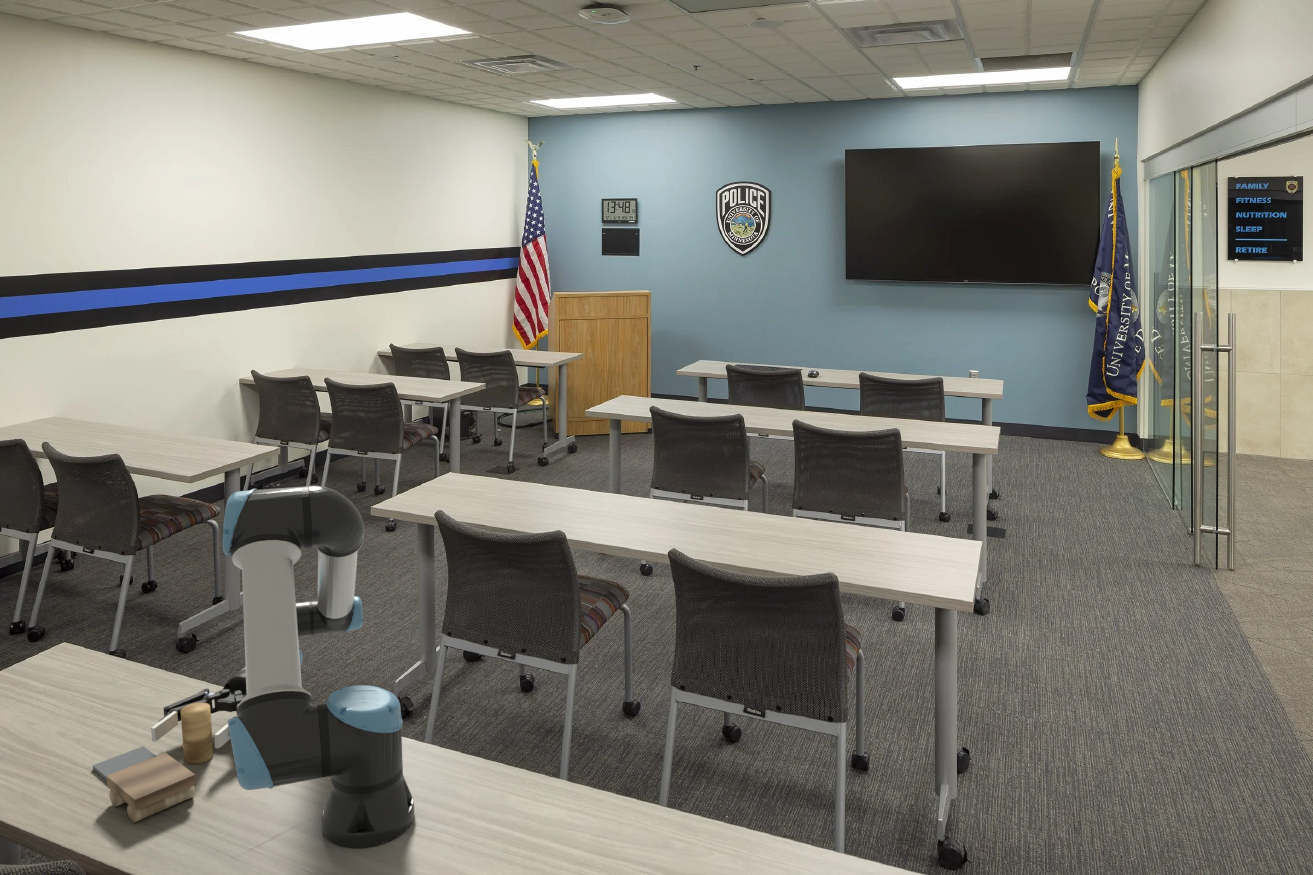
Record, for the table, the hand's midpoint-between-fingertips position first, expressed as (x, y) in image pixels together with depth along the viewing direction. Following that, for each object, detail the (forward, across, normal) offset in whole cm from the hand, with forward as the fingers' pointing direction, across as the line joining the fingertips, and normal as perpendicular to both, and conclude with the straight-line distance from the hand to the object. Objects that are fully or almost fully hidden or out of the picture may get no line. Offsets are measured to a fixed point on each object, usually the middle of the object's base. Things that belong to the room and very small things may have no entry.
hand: (184, 738), depth 171 cm
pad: (+2, +10, -6) cm, 12 cm away
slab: (+11, -1, -6) cm, 12 cm away
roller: (-4, 0, -6) cm, 7 cm away
